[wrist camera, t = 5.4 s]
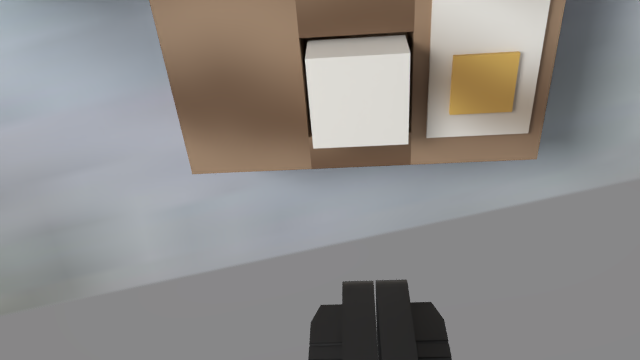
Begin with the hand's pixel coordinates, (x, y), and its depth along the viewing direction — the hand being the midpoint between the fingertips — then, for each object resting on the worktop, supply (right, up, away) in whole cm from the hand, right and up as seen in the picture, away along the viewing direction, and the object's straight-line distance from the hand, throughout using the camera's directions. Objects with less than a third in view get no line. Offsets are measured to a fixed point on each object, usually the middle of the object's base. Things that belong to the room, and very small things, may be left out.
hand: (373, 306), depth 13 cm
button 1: (0, +7, +10) cm, 13 cm away
